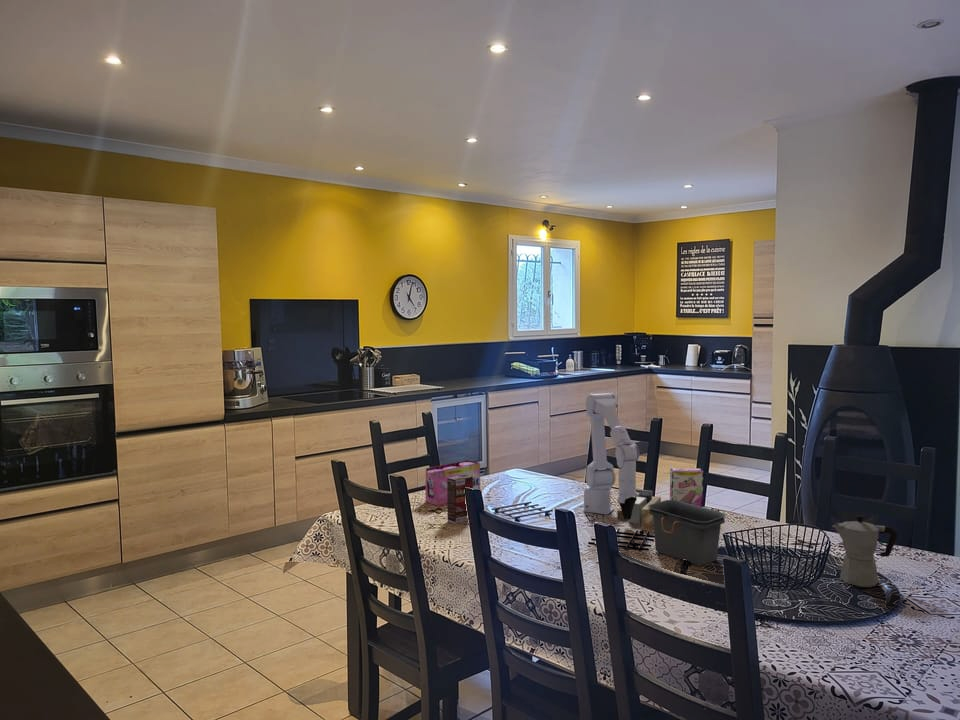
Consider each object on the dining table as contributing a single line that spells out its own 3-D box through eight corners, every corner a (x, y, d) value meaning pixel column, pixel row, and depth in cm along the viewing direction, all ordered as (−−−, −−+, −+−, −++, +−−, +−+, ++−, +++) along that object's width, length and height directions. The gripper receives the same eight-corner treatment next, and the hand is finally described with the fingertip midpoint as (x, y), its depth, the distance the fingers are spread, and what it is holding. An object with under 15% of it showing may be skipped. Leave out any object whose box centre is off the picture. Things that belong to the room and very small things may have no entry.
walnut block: (617, 518, 246) (617, 510, 245) (622, 514, 251) (622, 506, 251) (625, 520, 244) (625, 511, 244) (630, 515, 249) (630, 507, 249)
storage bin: (730, 561, 202) (731, 513, 201) (698, 573, 193) (698, 523, 192) (671, 542, 219) (671, 498, 218) (639, 553, 210) (639, 507, 209)
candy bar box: (671, 515, 249) (671, 470, 248) (669, 511, 254) (669, 467, 253) (703, 515, 248) (703, 470, 247) (700, 511, 253) (700, 467, 252)
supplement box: (455, 524, 242) (454, 480, 241) (447, 521, 245) (446, 477, 244) (474, 519, 247) (473, 476, 246) (465, 517, 251) (464, 474, 250)
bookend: (635, 514, 251) (635, 489, 251) (637, 511, 254) (637, 487, 253) (651, 516, 248) (651, 491, 248) (653, 513, 251) (653, 489, 251)
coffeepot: (833, 584, 184) (834, 517, 183) (829, 571, 193) (830, 508, 192) (900, 591, 178) (901, 523, 177) (893, 578, 187) (894, 513, 186)
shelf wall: (641, 529, 233) (641, 508, 233) (655, 515, 249) (655, 496, 249) (647, 530, 232) (647, 509, 232) (660, 516, 248) (660, 496, 248)
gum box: (434, 506, 266) (433, 472, 265) (422, 502, 272) (421, 468, 271) (481, 495, 282) (480, 462, 281) (468, 491, 287) (467, 459, 287)
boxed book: (628, 522, 242) (628, 502, 241) (636, 515, 250) (636, 496, 250) (639, 524, 240) (639, 504, 239) (647, 516, 248) (647, 497, 248)
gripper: (632, 485, 226) (632, 526, 227) (644, 476, 239) (644, 514, 240) (611, 483, 230) (612, 523, 231) (624, 474, 242) (624, 512, 243)
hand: (627, 518), depth 236 cm, fingers closed
